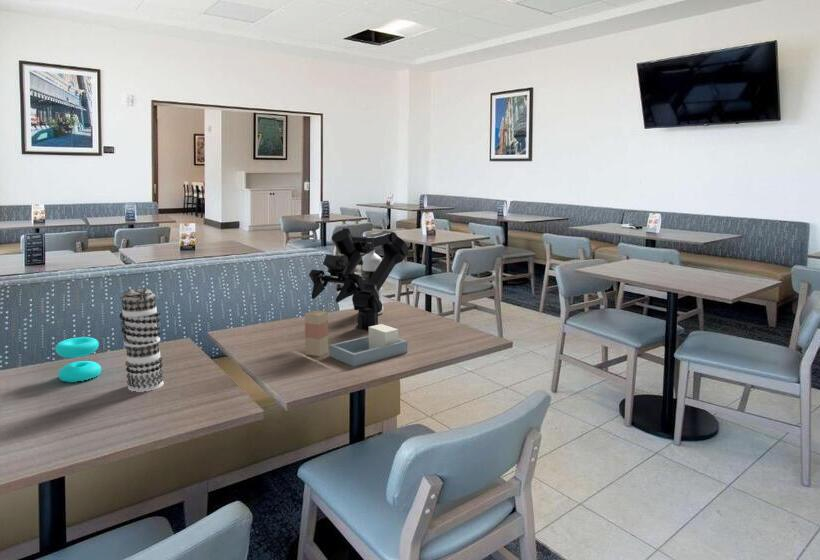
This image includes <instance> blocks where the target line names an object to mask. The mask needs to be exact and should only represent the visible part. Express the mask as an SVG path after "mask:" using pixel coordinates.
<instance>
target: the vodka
mask: <svg viewBox="0 0 820 560" xmlns="http://www.w3.org/2000/svg"><path fill="white" fill-rule="evenodd" d="M375 248H376V247H374V248H373V251H372V252H370V253H368V254H364V255H363V256H361V257H362V261H363V265H360V275H361V277H362V279H363V282H364V283H365V284H367V282H368V281H369V279H370V278H371V276H372V275H373V273H374V272H375V270H376V269H377V267H378V266H379V264H380V263H381V261H382V260H383V258H382V257H381V256H380V255H378V254H377V253H376V252H375V250H376V249H375ZM379 300H380V302H381V303H382V304H383V286H382V287H381V288H380V290H379ZM384 310H385V309H384V304H383V306H382V310H381V311H380V312H378V316H379V315H381V314H383V313H384Z"/></svg>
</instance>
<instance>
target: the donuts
mask: <svg viewBox="0 0 820 560" xmlns="http://www.w3.org/2000/svg"><path fill="white" fill-rule="evenodd" d="M99 346H100V342H99V341H98V340H97V339H96V338H94V337H90V336H79V337H72V338H67V339H65V340H61V341H59V342H58V343H57V344H56V345H55V347H54V349H55V352H56V354H57V355H58V356H61V357H63V358H81V357H86V356H89V355H92V354H93V353H94V352H96V351H97V349H98V348H99ZM101 373H102V366H101V365H100V364H99V363H98V362H95V361H91V360H81V361H80V360H79V361H73V362H70V363H68V364H66V365H64V366H62V367H61V368H60V369H59V371H58V374H57V375H58V379H59V380H60V381H62V382H65V381H66V383H78V382H77V381H82V382H85V381H84V380H87V381H89V380H88V379H90V380H92V379H91V378H93V379H95V378H96V376H97V377H98V376H99V375H100V374H101ZM94 377H95V378H94Z"/></svg>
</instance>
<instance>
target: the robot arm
mask: <svg viewBox="0 0 820 560" xmlns="http://www.w3.org/2000/svg"><path fill="white" fill-rule="evenodd" d="M331 241H332V242H333V244H334V247H335V249H336V251H337V252H338V254H340V255H336V254H325V257H324V260H323V262H322V265H324V266H325V267H327V272H328V273H329V274H325V271H324V270H322V269H311V270H310V272H309V273H308V277H309V278H310V279H311V281H312V283H313V287H312V292H311V300H315V299H316V298H317V297H318V296H319V295H320V294H321V293H322V292H323V291H324V290H325V289H326V288H325V287H327V286H328V283H333V284H335V285H341V286H342V288H341V290H340V291H339V293H338V294H337V295H336V299H335V302H336V303H340V302H341V301H343V300H345V299H347V298H349V297H351V296H352V297H351V300H352V301H351V302H352V305H353V309H354V311H358V315H357V325H355V328H358V329H360V330H362V331H369V327H370V326H375V325H379V315H378V312H380V311H381V310H382V306H384V304H382V303H381V302H380V300H379V290H380V288H381V287H382V288H383V286H384V283H385V282H386V280H387V279H388V277H389V276H390V274H391V273H392V271H393V269H394V268H395V266H396V265H398V264H400V263H402V262H403V261H404V260H405V259H406V258H407V256H408V255H409V250H410V249H409V246H408V245H407V244H406V242H405V240H404V239H402V238H401V237H399V236H398V235H397V233H396V232H395V231H390V230H383V231H381V232H378V233H375V234H369V235H367V236H366V235H365V236H363V235H362V236H360V235H352V234H351V230H350V229H349V227H348V228H347V227H343V228H342V230H338V231H337V232H334V233H333V234H332V236H331ZM380 246H381V248H382V250H383V251H382V252H383V258H382V261H381V263H380V264H379V266H378V267H377V269H376V270H375V272H374V273H373V275H372V276H371V278H370V279H369V281H368V282H367V284H365V283H364V282H363V279H362V277H361V273H360V274H359V273H355V270H356V268H357V267H358V266H361V265H363V261H362V257H363V256H362V255H361V254H363V255H366V254H368V253H370V252H372V251H373V248H374V247H375V248H377V247H380Z"/></svg>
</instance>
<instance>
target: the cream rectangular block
mask: <svg viewBox="0 0 820 560" xmlns="http://www.w3.org/2000/svg"><path fill="white" fill-rule="evenodd" d="M368 336H369V349H373V348H377V347H381V346H385V345H389V344H393V343H397V342H398V338H399V329H398V328H395V327H392V326H389V325H385V324H383V323H380V324H379V323H378V325H375V326H370V327H369V330H368Z"/></svg>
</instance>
